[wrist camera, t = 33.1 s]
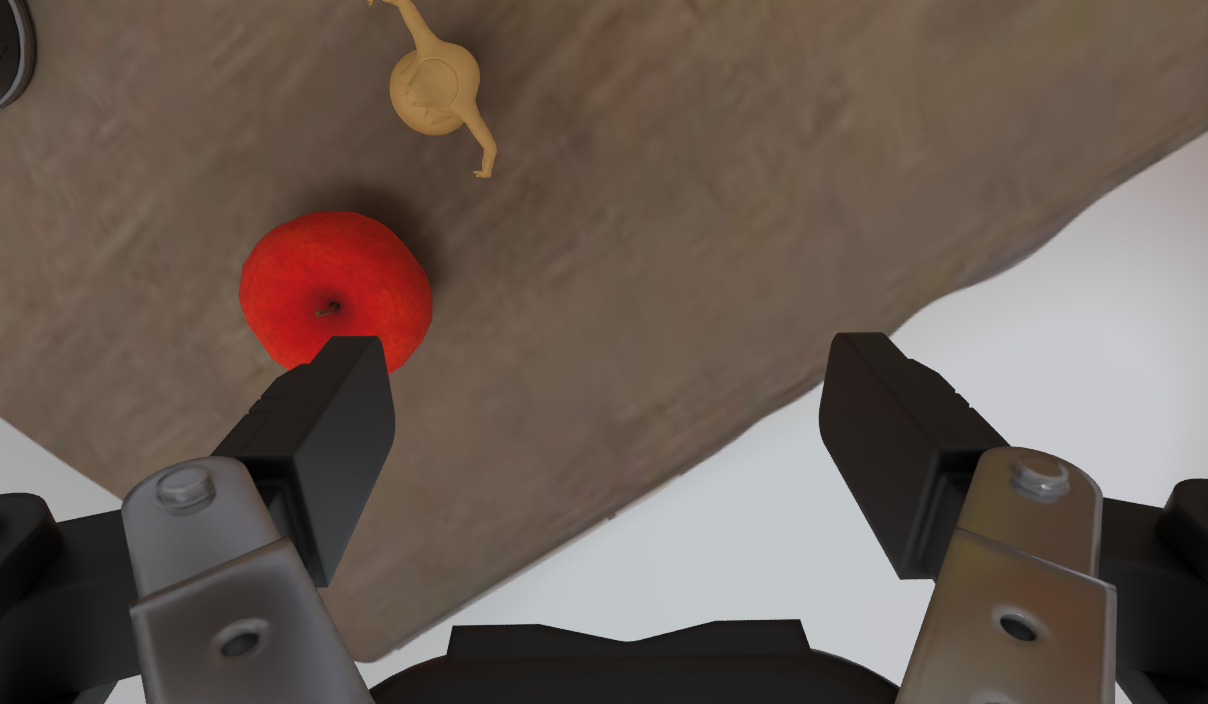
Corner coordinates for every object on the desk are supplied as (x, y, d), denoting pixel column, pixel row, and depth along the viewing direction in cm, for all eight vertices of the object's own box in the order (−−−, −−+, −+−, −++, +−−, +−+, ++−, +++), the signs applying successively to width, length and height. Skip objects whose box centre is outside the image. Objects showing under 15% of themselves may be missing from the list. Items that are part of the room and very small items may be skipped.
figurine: (358, 30, 32) (246, 35, 22) (460, -37, 31) (394, -65, 20) (453, 178, 36) (397, 246, 25) (548, 124, 34) (532, 171, 24)
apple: (477, 253, 38) (453, 307, 31) (398, 358, 41) (359, 428, 34) (339, 154, 35) (277, 188, 28) (264, 274, 38) (192, 332, 31)
